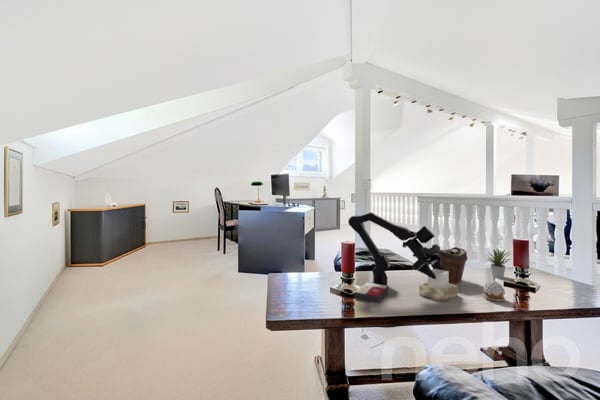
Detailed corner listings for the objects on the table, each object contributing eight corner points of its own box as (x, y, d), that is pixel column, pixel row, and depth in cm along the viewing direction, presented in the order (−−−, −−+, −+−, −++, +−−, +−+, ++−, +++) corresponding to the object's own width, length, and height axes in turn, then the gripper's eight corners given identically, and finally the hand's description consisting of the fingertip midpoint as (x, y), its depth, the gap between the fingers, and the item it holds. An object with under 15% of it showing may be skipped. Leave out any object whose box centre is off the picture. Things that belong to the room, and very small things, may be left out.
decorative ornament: (508, 302, 131) (508, 267, 131) (490, 302, 131) (490, 267, 131) (497, 296, 139) (497, 263, 138) (480, 296, 139) (480, 263, 138)
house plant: (522, 279, 163) (523, 249, 162) (501, 281, 160) (501, 250, 159) (500, 272, 176) (500, 244, 176) (479, 274, 174) (479, 246, 173)
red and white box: (354, 291, 137) (365, 281, 150) (354, 300, 138) (365, 289, 150) (378, 295, 132) (388, 284, 144) (378, 305, 132) (388, 293, 145)
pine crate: (419, 294, 142) (419, 285, 141) (431, 289, 149) (431, 279, 149) (445, 301, 132) (445, 291, 132) (457, 295, 140) (457, 285, 140)
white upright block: (427, 292, 141) (428, 271, 141) (434, 289, 145) (434, 268, 145) (442, 296, 136) (442, 274, 136) (448, 293, 140) (448, 271, 140)
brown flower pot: (471, 278, 165) (471, 245, 165) (462, 288, 150) (461, 252, 150) (437, 273, 177) (436, 243, 177) (425, 281, 162) (424, 248, 162)
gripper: (418, 241, 137) (443, 270, 129) (438, 237, 149) (461, 263, 141) (403, 256, 144) (425, 284, 136) (423, 250, 156) (444, 276, 148)
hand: (440, 276), depth 140 cm, fingers open, 9 cm apart
